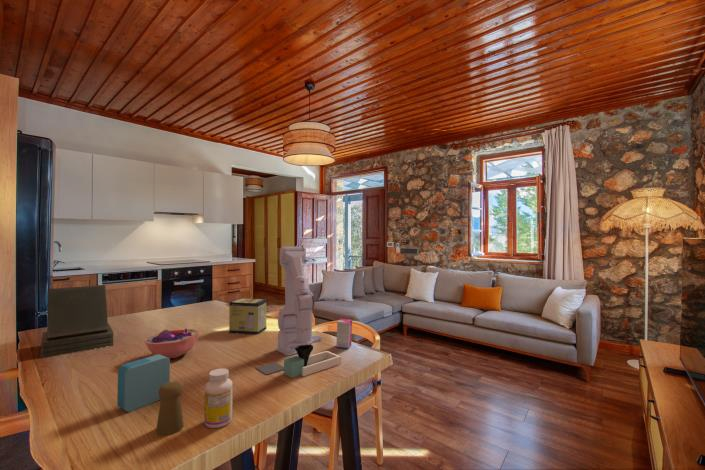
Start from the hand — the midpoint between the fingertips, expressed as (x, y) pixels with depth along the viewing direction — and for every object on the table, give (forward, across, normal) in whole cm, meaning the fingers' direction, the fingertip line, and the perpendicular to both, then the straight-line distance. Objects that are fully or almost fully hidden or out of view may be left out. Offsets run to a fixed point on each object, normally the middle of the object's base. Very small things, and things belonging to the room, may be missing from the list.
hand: (303, 365), depth 118 cm
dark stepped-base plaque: (+2, -58, +87) cm, 104 cm away
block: (+2, -4, 0) cm, 4 cm away
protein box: (+2, +7, +60) cm, 60 cm away
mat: (+2, -8, +9) cm, 12 cm away
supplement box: (+2, +28, +10) cm, 30 cm away
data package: (+2, -47, +11) cm, 48 cm away
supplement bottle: (+2, -35, -13) cm, 37 cm away
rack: (+2, +5, 0) cm, 5 cm away
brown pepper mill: (+2, -45, -8) cm, 46 cm away
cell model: (+2, -31, +46) cm, 56 cm away
